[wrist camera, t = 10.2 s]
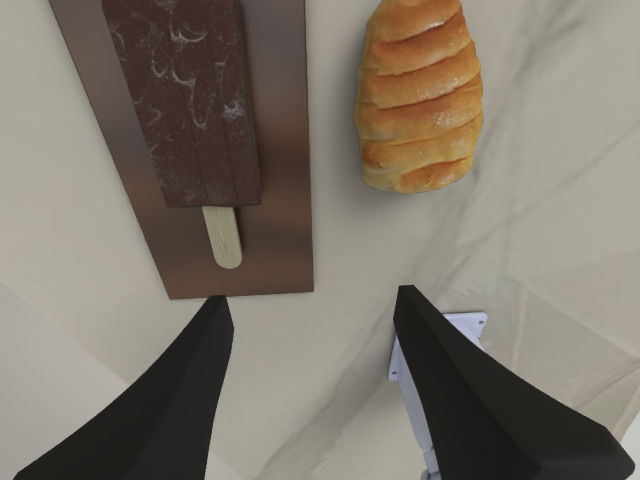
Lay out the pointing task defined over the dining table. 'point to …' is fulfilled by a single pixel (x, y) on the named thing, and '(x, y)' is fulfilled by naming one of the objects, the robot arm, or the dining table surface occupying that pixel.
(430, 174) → the pastry
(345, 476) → the dining table surface
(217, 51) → the ice cream bar
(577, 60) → the dining table surface
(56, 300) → the dining table surface
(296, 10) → the walnut board
